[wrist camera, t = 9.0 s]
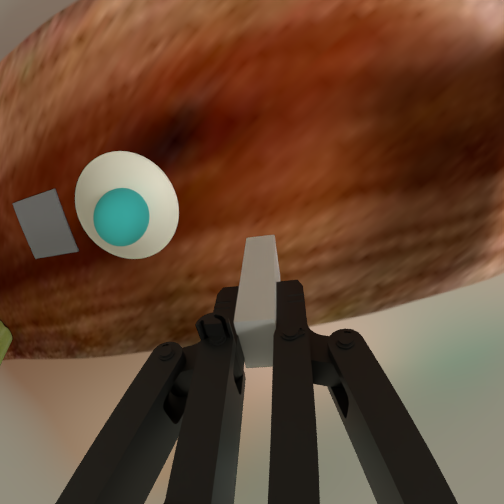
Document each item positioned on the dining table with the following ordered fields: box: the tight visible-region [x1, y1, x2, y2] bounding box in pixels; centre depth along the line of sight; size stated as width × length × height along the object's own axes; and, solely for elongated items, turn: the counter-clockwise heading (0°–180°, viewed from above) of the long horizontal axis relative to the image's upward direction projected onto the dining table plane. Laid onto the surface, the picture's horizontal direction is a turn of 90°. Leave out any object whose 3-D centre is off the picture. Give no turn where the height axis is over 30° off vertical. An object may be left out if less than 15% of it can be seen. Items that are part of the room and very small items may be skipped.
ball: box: [93, 188, 150, 246], centre depth 28 cm, size 6×6×6 cm
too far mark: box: [13, 189, 79, 259], centre depth 31 cm, size 8×8×1 cm
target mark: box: [75, 151, 179, 259], centre depth 30 cm, size 12×12×1 cm
